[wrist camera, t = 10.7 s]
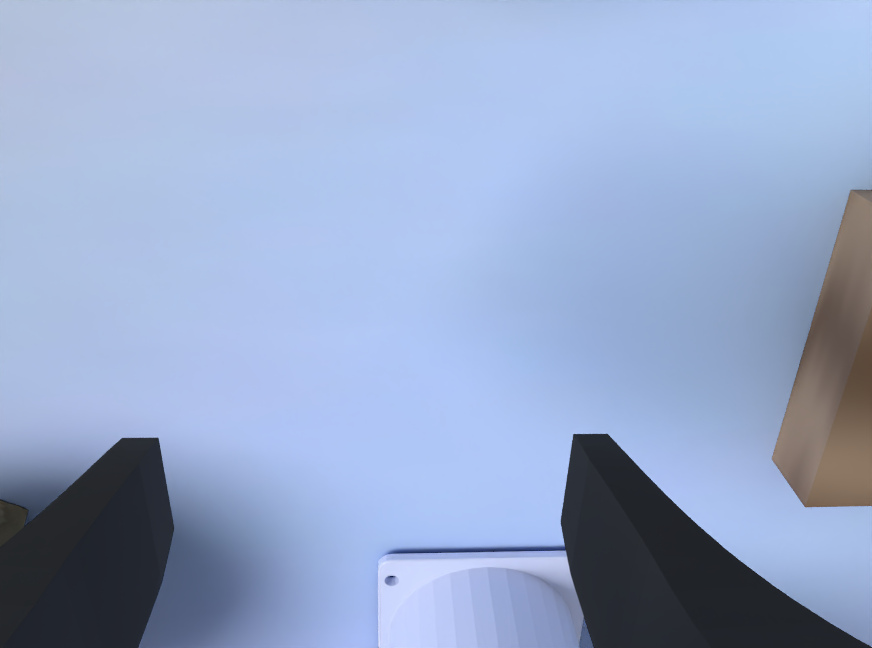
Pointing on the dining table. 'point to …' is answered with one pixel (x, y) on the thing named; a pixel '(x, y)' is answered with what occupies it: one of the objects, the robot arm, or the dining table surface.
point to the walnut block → (835, 378)
